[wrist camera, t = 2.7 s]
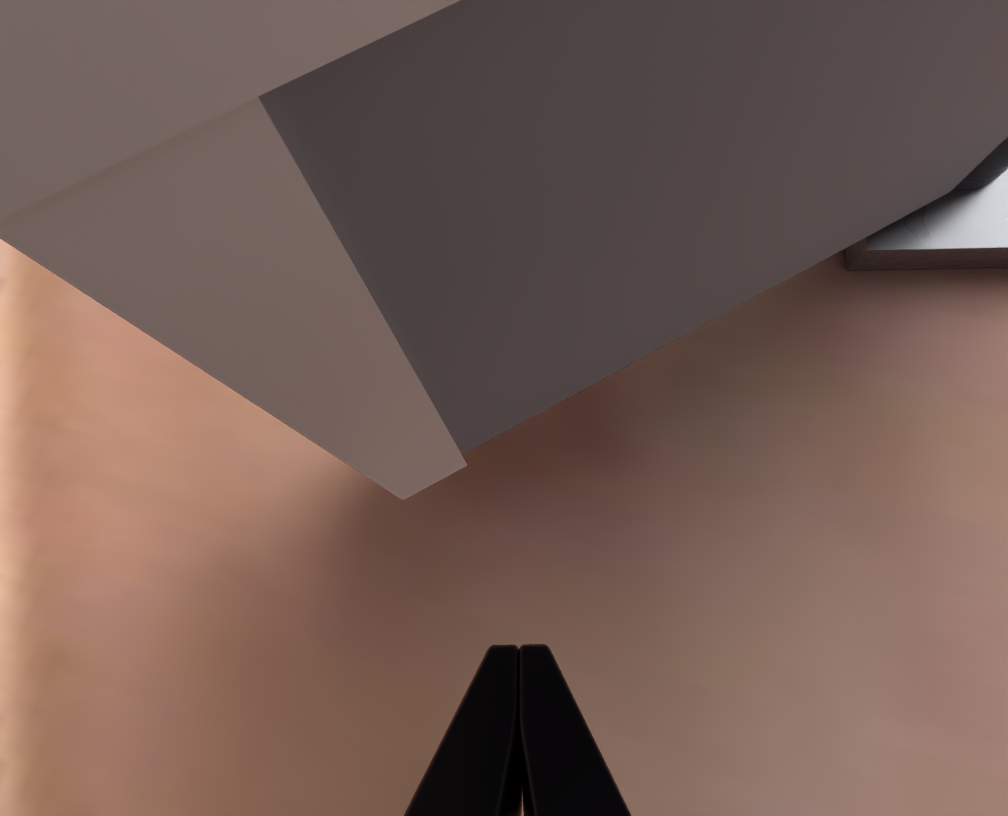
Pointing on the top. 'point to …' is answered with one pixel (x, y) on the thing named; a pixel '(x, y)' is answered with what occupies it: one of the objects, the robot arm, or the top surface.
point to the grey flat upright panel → (468, 183)
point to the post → (947, 227)
